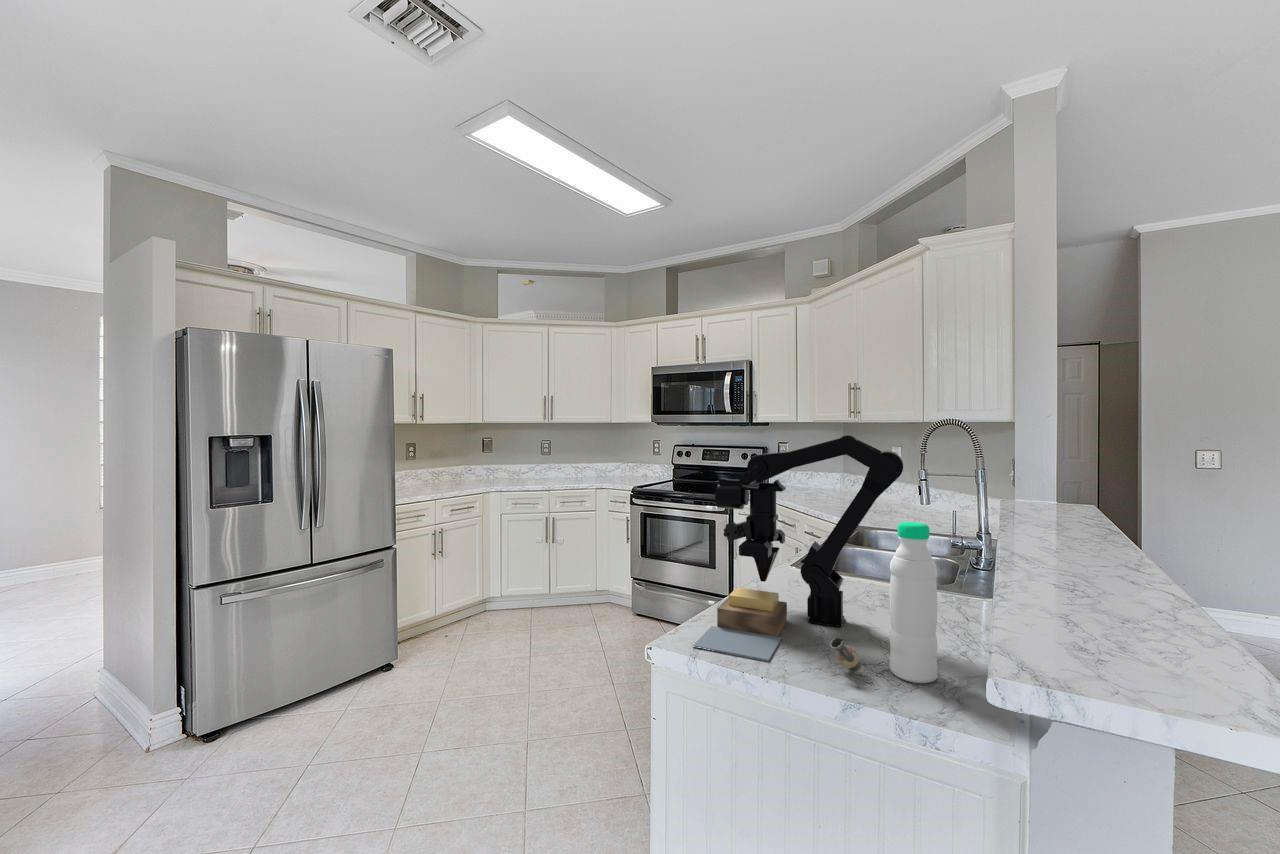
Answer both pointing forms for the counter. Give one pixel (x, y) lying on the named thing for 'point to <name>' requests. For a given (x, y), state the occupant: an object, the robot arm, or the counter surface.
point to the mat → (739, 643)
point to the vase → (847, 657)
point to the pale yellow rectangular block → (754, 599)
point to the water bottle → (913, 606)
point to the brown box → (752, 618)
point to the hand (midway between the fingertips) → (763, 581)
